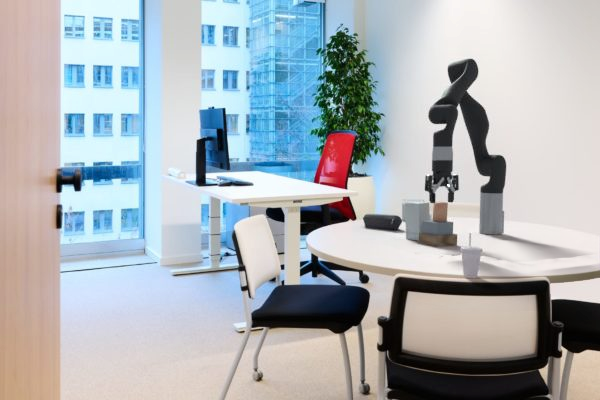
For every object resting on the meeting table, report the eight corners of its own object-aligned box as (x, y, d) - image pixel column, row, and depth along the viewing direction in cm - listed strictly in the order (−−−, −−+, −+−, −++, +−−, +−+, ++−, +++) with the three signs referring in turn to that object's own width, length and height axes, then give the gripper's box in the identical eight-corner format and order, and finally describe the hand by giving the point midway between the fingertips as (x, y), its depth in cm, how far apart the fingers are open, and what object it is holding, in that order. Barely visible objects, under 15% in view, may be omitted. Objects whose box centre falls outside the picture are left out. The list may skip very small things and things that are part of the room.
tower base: (439, 242, 247) (439, 231, 246) (456, 246, 238) (457, 234, 238) (418, 244, 242) (418, 232, 242) (435, 247, 233) (436, 235, 233)
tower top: (438, 231, 245) (438, 220, 245) (452, 234, 238) (453, 222, 238) (422, 232, 241) (422, 221, 241) (436, 235, 234) (437, 223, 234)
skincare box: (430, 240, 251) (431, 202, 250) (419, 241, 248) (419, 203, 247) (415, 238, 258) (416, 201, 257) (404, 239, 255) (404, 201, 254)
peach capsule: (439, 219, 243) (440, 201, 242) (449, 221, 238) (450, 203, 237) (429, 220, 240) (430, 202, 239) (439, 222, 236) (440, 203, 235)
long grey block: (424, 227, 300) (425, 204, 299) (401, 226, 302) (402, 203, 301) (423, 220, 331) (424, 199, 331) (402, 219, 333) (403, 199, 332)
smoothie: (463, 276, 197) (465, 231, 196) (484, 279, 194) (485, 233, 193) (456, 280, 192) (458, 233, 191) (477, 282, 188) (479, 235, 187)
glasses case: (405, 232, 278) (405, 214, 278) (395, 234, 270) (396, 216, 269) (368, 229, 288) (368, 212, 287) (357, 231, 279) (357, 213, 278)
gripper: (450, 159, 244) (449, 201, 245) (420, 159, 237) (420, 202, 238) (464, 159, 237) (463, 202, 238) (434, 159, 230) (433, 204, 232)
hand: (441, 202), depth 238 cm, fingers open, 8 cm apart
